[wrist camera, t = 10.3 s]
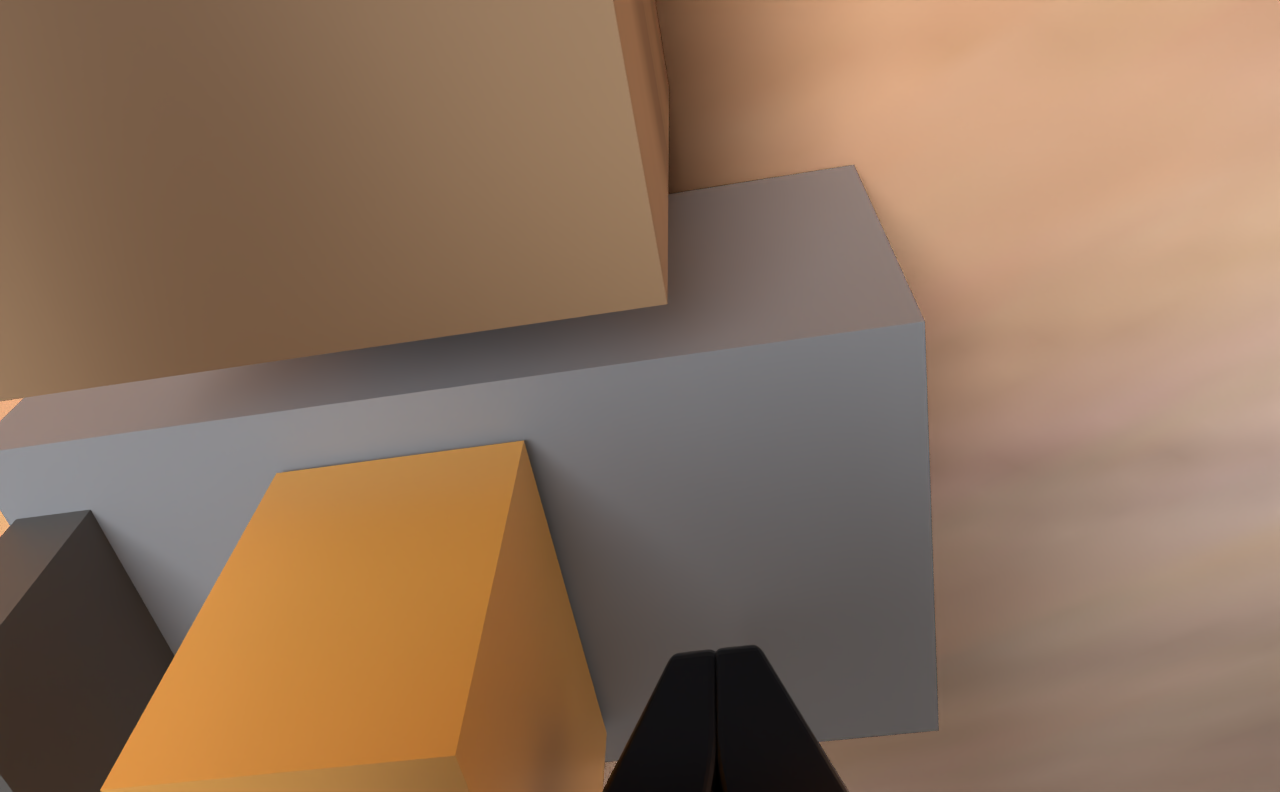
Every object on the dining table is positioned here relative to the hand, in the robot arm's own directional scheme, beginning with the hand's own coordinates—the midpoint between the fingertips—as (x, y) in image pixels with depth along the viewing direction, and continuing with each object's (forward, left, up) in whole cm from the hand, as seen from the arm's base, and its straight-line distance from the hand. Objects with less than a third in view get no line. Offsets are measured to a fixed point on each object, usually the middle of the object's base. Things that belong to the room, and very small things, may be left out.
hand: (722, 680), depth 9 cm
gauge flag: (+3, 0, -1) cm, 3 cm away
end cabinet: (+2, 0, -5) cm, 6 cm away
